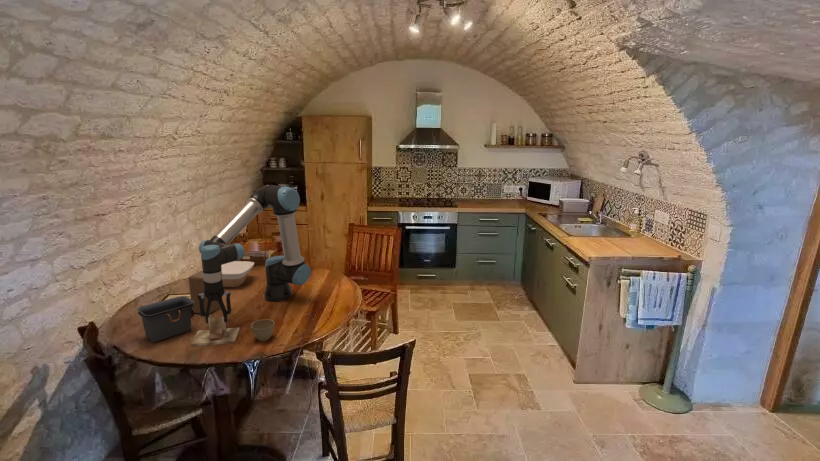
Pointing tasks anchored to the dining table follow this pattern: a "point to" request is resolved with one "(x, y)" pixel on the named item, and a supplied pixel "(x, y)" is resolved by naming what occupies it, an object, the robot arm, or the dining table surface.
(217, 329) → the block
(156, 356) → the dining table surface
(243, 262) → the bowl
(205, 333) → the board
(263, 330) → the flower pot
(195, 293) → the wooden block
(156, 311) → the storage bin
